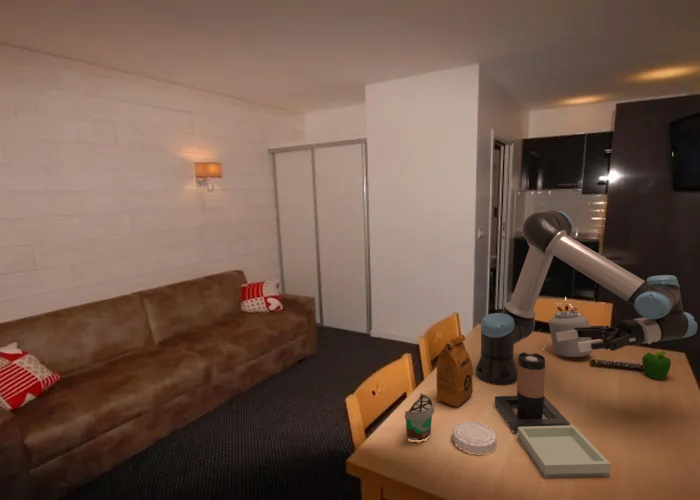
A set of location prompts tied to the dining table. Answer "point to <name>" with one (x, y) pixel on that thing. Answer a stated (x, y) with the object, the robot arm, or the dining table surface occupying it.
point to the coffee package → (454, 373)
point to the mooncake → (474, 437)
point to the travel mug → (530, 386)
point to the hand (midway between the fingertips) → (567, 342)
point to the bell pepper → (656, 365)
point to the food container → (419, 418)
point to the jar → (568, 323)
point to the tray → (563, 452)
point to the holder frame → (514, 422)
